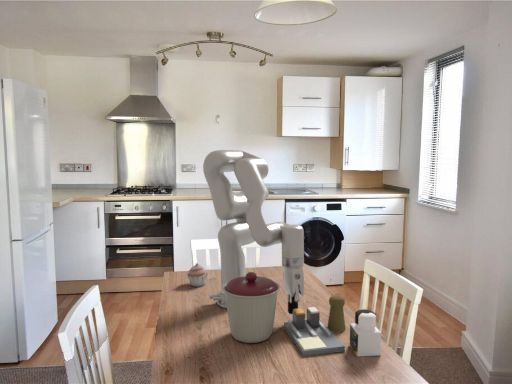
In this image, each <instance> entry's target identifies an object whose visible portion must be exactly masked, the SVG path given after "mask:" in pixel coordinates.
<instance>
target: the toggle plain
mask: <svg viewBox="0 0 512 384" xmlns="http://www.w3.org/2000/svg"><path fill="white" fill-rule="evenodd" d="M306 319H307V323H308V324H309V326H310V327H316V326H319V319H320V311H319V310H318V309H317V308H316V307H315V306H312V307H311V306H310V307H307V308H306ZM320 320H321V319H320Z"/></svg>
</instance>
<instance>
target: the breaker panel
mask: <svg viewBox="0 0 512 384" xmlns="http://www.w3.org/2000/svg"><path fill="white" fill-rule="evenodd" d="M325 324H326V323H324V322H323V320H322V319H319V326H316V327H310V326H309V324H308V323H307V318H305V328H298V329H296V328H295V326H294V325H293V319H292V320H291V319H290V320H287V322H283V328H284V329H285V331H286V333H287V334H288V335H289V338H291V340H292V342H293V343H294V345H295V346H296V348H297V349H298V350H299V352H300V353H301V355H302V356H303V357H307V356H314V355H321V354H322V355H325V354H330V353H331V354H332V353H340V352H345V351H346V349H345V348H346V347H345V344H344V343H342V341H341V340H340V339H339V338H338V337H337V336H336V335H335V334H334V332H333V331H330V330H329V328H328V327H327V326H328V325H325Z"/></svg>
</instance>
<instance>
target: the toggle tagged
mask: <svg viewBox="0 0 512 384" xmlns="http://www.w3.org/2000/svg"><path fill="white" fill-rule="evenodd" d="M305 319H306V314H305V311H304V310H303V309H302V308H301V307H300V308H299V307H298V309H293V314H292V320H293V325H294V326H295V328H296V329H298V328H305Z"/></svg>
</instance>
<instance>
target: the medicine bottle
mask: <svg viewBox="0 0 512 384" xmlns="http://www.w3.org/2000/svg"><path fill="white" fill-rule="evenodd" d="M354 314H355V315H354V322H351V323H349V324H350V325H349V346H350V348H351V349H352V351H353V353H354V354H355V355H356V357H359V358H360V357H376V356H377V357H378V356H381V355H382V354H381V352H382V351H381V350H382V332H381V331H380V329H378V327H377V314H376V313H375V312H374V311H372V310H369V309H366V308H365V309H364V308H363V309H358V310H357V311H356V312H355V313H354Z"/></svg>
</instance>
